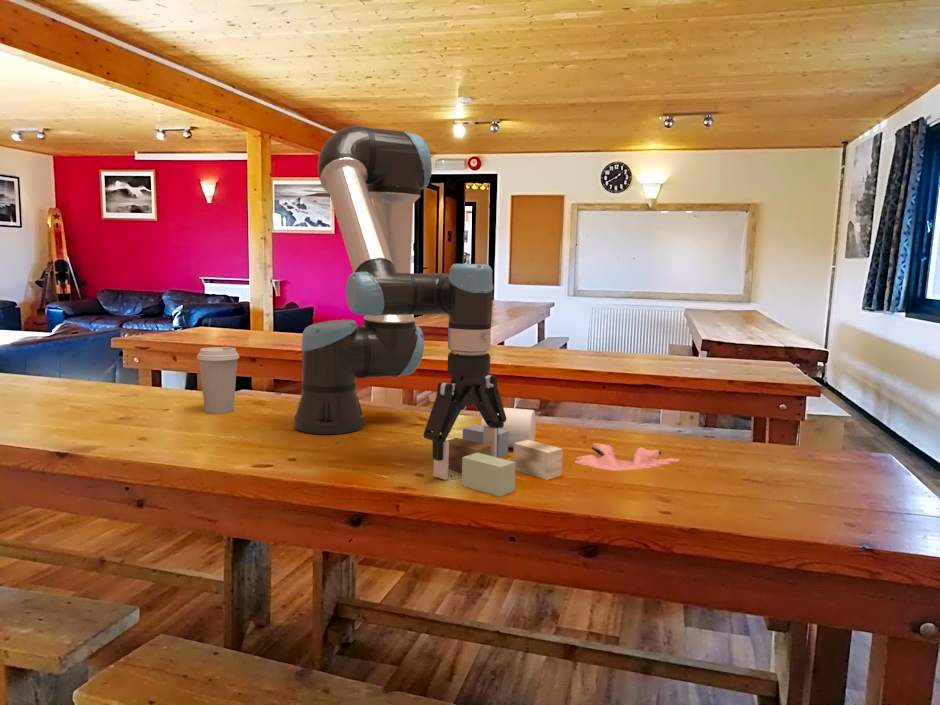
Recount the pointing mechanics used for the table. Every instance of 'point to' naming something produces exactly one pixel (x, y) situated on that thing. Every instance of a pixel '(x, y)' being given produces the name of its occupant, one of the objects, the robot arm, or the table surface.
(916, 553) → the table surface
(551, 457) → the birch brick
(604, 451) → the cloth
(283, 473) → the table surface
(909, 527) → the table surface
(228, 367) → the coffee cup
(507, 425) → the mug
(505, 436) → the slate brick
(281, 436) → the table surface
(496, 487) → the sage brick
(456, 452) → the walnut brick
